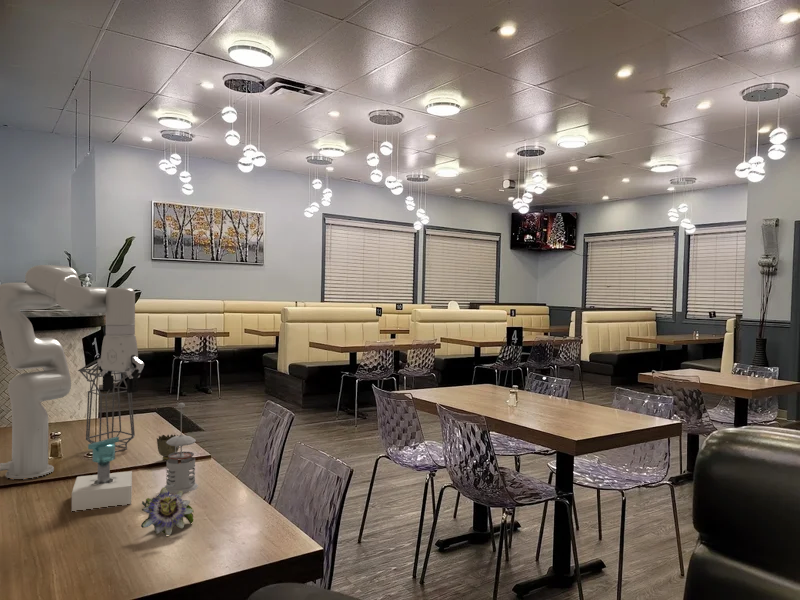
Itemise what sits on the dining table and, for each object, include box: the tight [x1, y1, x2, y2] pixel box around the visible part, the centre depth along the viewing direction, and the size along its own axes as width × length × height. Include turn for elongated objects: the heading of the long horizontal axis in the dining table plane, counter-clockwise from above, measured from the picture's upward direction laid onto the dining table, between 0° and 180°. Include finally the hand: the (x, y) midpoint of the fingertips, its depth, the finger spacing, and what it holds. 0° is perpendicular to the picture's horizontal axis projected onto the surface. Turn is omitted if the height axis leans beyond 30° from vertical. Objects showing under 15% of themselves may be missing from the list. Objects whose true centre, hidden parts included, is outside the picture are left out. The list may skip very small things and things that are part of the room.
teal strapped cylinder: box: [87, 436, 120, 484], centre depth 158 cm, size 9×6×16 cm, turn 159°
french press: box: [163, 402, 199, 494], centre depth 169 cm, size 10×12×25 cm
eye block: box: [71, 470, 133, 512], centre depth 158 cm, size 14×14×5 cm
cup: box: [156, 433, 180, 461], centre depth 195 cm, size 8×7×8 cm
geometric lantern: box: [77, 357, 136, 453], centre depth 206 cm, size 16×16×35 cm
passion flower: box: [140, 486, 194, 536], centre depth 139 cm, size 11×11×12 cm
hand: (120, 390), depth 164 cm, fingers open, 9 cm apart
